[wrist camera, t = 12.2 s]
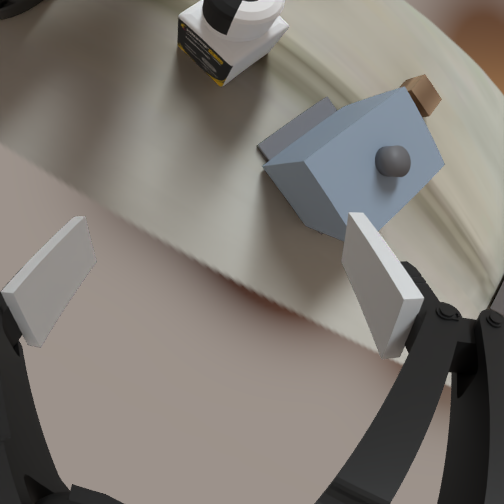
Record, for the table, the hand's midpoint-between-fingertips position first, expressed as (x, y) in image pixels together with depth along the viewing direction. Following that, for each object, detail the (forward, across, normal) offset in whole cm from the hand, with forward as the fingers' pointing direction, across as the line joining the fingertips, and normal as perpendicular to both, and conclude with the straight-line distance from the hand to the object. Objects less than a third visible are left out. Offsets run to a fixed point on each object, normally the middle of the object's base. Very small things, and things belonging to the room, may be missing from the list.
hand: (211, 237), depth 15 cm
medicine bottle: (+22, -1, +12) cm, 25 cm away
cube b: (+26, +23, +7) cm, 35 cm away
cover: (+20, +10, -1) cm, 22 cm away
